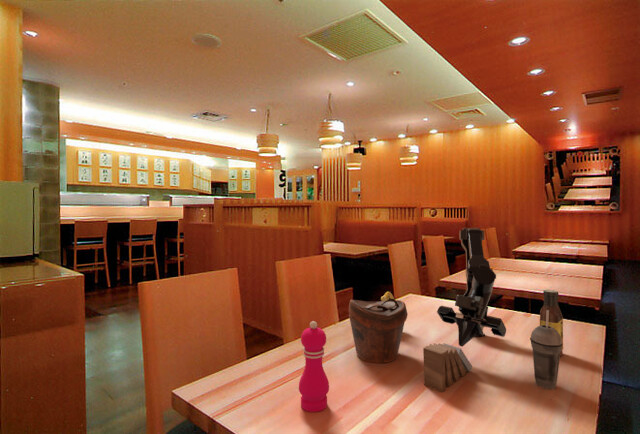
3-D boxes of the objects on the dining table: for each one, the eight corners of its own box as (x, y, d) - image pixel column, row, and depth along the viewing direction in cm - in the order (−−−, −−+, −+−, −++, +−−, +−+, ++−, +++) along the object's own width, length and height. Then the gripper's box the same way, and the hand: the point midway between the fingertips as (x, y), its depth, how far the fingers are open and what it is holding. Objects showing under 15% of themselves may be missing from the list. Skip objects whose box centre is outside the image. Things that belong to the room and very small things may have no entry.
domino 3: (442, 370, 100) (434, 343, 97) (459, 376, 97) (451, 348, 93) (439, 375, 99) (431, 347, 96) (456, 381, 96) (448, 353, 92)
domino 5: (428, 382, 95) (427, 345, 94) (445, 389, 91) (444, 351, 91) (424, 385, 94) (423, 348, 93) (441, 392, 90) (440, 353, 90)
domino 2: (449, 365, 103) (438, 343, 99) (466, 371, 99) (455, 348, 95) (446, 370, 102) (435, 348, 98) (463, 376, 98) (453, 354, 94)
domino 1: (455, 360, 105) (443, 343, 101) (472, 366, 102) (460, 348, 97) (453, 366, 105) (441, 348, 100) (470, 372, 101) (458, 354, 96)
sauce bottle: (566, 358, 110) (567, 293, 109) (544, 356, 111) (545, 293, 111) (557, 349, 116) (558, 289, 116) (536, 348, 118) (536, 288, 117)
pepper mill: (298, 397, 88) (297, 317, 88) (327, 396, 89) (327, 316, 88) (299, 414, 81) (298, 327, 80) (330, 412, 82) (330, 325, 81)
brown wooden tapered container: (419, 352, 115) (418, 296, 114) (385, 374, 100) (384, 310, 100) (373, 339, 127) (372, 289, 126) (336, 357, 112) (335, 300, 112)
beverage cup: (557, 380, 96) (558, 306, 95) (566, 394, 89) (567, 314, 88) (526, 376, 98) (527, 304, 98) (533, 389, 91) (533, 311, 91)
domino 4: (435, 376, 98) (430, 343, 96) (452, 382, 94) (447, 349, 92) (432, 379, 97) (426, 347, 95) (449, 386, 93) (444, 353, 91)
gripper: (440, 279, 112) (420, 322, 105) (502, 289, 98) (485, 339, 91) (452, 300, 118) (434, 342, 110) (513, 312, 104) (497, 361, 97)
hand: (460, 345), depth 102 cm, fingers closed
